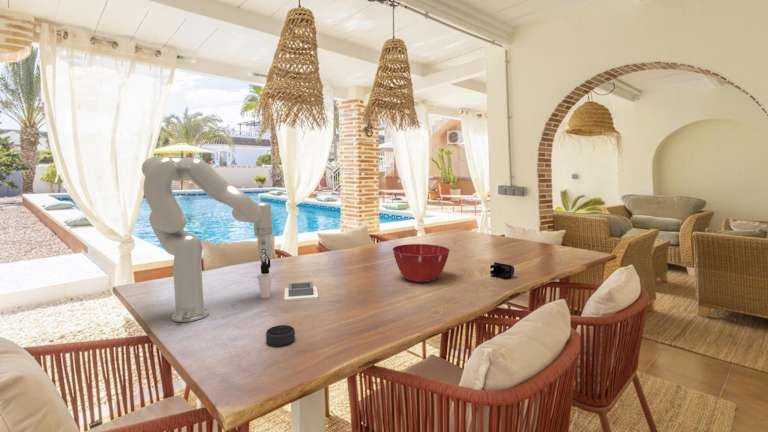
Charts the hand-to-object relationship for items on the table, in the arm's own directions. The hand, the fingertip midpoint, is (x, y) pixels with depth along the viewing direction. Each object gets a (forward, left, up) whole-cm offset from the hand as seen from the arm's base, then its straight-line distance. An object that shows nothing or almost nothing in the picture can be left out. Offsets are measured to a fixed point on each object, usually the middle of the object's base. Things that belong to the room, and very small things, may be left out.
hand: (266, 270), depth 174 cm
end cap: (+6, -114, -12) cm, 115 cm away
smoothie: (0, +1, -12) cm, 12 cm away
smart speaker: (-49, -7, -12) cm, 51 cm away
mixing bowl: (+12, -73, -12) cm, 75 cm away
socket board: (0, -14, -12) cm, 19 cm away
